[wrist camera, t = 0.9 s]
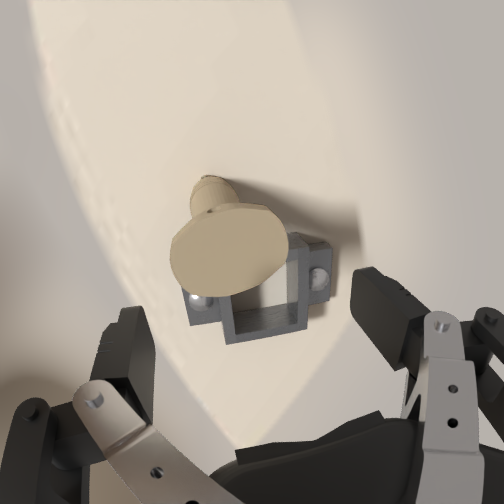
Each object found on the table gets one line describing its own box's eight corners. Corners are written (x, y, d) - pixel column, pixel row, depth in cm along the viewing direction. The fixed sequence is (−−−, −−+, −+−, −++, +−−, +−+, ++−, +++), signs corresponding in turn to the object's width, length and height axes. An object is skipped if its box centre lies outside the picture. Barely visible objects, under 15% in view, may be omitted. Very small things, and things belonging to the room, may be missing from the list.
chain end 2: (221, 242, 32) (225, 259, 29) (326, 227, 34) (342, 241, 31) (231, 321, 37) (236, 342, 33) (323, 303, 39) (335, 322, 35)
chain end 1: (175, 249, 32) (174, 267, 28) (285, 233, 33) (297, 248, 30) (192, 327, 36) (194, 349, 33) (287, 311, 38) (297, 331, 34)
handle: (170, 178, 29) (156, 236, 15) (233, 155, 29) (275, 193, 16) (187, 222, 31) (191, 309, 17) (247, 200, 31) (296, 271, 18)
